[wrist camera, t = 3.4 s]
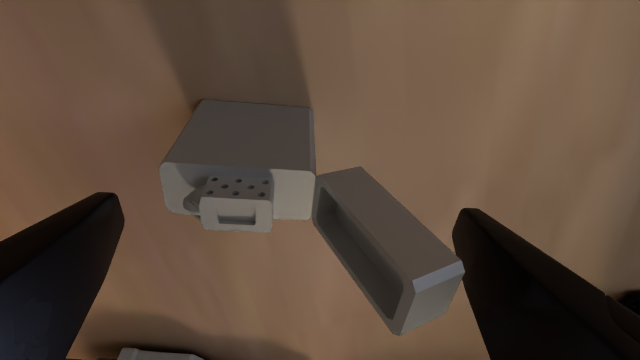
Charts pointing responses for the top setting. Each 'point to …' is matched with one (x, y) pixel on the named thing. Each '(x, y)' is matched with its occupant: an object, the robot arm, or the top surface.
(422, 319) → the lighter
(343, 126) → the top surface
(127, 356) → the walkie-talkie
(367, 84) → the top surface
